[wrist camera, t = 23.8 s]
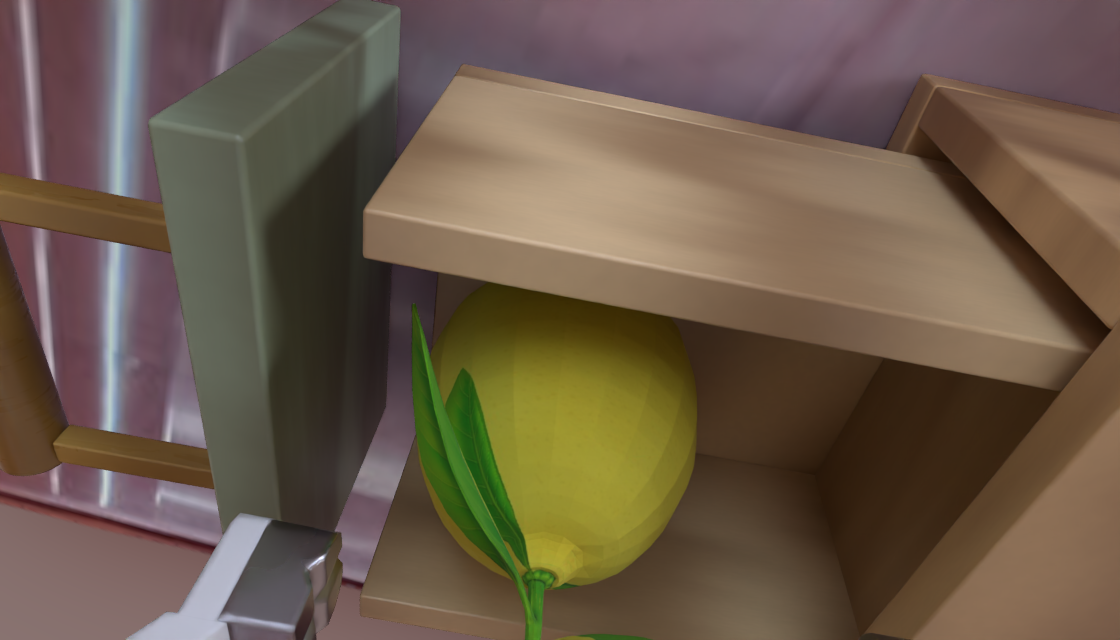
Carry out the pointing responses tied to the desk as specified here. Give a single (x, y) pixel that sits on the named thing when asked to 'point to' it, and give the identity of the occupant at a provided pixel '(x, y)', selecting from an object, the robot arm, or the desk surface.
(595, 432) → the lemon
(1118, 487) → the cabinet
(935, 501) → the drawer
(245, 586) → the robot arm
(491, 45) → the desk surface
